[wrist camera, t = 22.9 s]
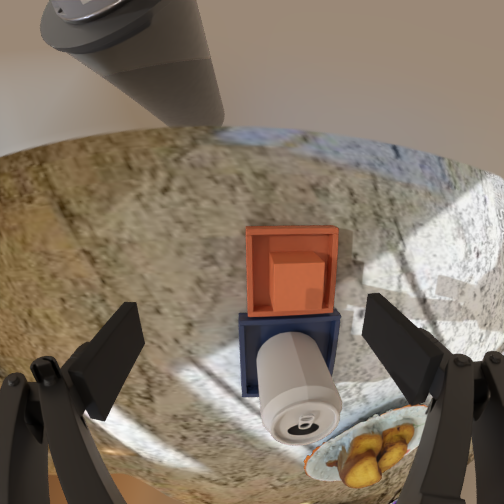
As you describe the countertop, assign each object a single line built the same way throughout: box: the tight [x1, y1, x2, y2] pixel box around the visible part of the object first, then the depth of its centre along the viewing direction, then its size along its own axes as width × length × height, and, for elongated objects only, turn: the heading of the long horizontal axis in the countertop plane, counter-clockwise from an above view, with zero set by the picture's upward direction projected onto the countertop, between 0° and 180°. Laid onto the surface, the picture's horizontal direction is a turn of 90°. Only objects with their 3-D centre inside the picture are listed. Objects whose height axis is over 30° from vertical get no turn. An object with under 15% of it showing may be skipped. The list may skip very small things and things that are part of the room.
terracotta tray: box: [246, 225, 339, 317], centre depth 28 cm, size 9×9×2 cm
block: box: [269, 251, 325, 312], centre depth 27 cm, size 5×5×5 cm
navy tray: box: [238, 309, 341, 397], centre depth 31 cm, size 11×11×2 cm
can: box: [256, 332, 342, 445], centre depth 26 cm, size 8×8×12 cm
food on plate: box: [304, 404, 428, 488], centre depth 35 cm, size 25×25×7 cm
